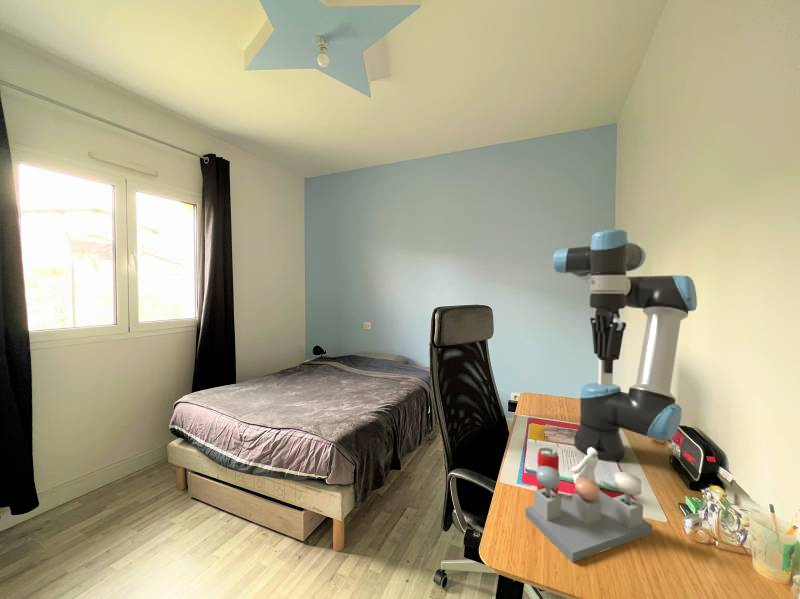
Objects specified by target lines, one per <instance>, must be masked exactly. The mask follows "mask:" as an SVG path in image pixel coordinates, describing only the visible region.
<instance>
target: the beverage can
mask: <svg viewBox="0 0 800 599" xmlns="http://www.w3.org/2000/svg"><path fill="white" fill-rule="evenodd" d="M559 460H560V457H559V454H558V452H557V451H556V450H554V449H553V448H549V447H541V448H539V449H538V452H537V468H538V467H539V466H548V467H551V468H554V469H555V470H557V471H558V472H559V465H560V464H559ZM536 481H537V480H536ZM536 487H537V490H540V489H544V488H545V486H543V485H541V484H540V483H539V482H538V481H537V483H536ZM550 490H552V491H553V492H554V493H555V494H557V495H558V496H559V486H558V487H556V488H550Z"/></svg>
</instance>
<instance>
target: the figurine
mask: <svg viewBox="0 0 800 599" xmlns="http://www.w3.org/2000/svg"><path fill="white" fill-rule="evenodd" d="M587 454H588V455H585V457H583V458H582V460H581V461H580V462H579V463H578V464H577V465H575V466H573V467H572V468H571V469H570V472H573V473H575V474H572V475H571V476H572V477H571V479H572V478H573V479H572V480H573V483H574V484H575V480H576V478H580V477H582V478H588V479H591V480H593V481H595V482H596V483H597V481H596V475H595V469H596V467H597V465H598V461H599V459H598V457H597V454H598V453H597V451H596V450H595V449H594V448H592V447H590V448H588V450H587Z"/></svg>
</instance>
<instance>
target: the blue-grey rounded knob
mask: <svg viewBox="0 0 800 599" xmlns="http://www.w3.org/2000/svg"><path fill="white" fill-rule="evenodd" d="M536 481H538V482H539V483H540V484H541V485H543V486H545V497H546V498H550V488H556V487H558V488H559V486H560V472H559V471H557V470H555V469H554V468H551V467H548V466H539V467H538V466H537V468H536Z"/></svg>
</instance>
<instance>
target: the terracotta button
mask: <svg viewBox="0 0 800 599" xmlns="http://www.w3.org/2000/svg"><path fill="white" fill-rule="evenodd" d="M595 481H596V480H595ZM595 481H593V480H591V479H588V478H582V477H580V478H576V480H575V483H574V484H575V485H574V492H575V494H576V493H577V494H578V495H579V496H580V497H582V498H584V500H585V501H587V502H589V501H590V500H591V501H595V500H598V499H599V490H600V485H599V484H598V483H597V481H596V482H595Z"/></svg>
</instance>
